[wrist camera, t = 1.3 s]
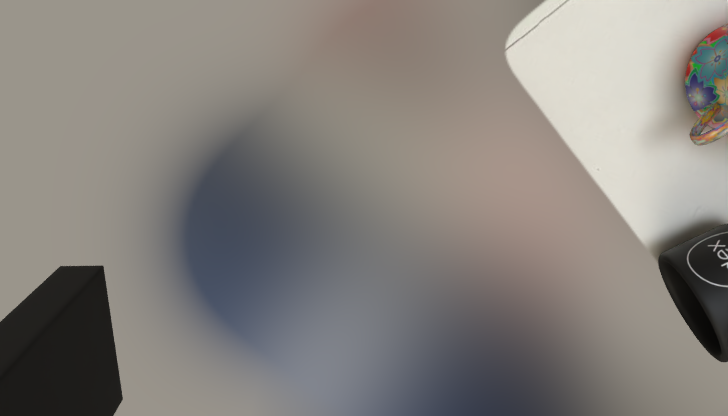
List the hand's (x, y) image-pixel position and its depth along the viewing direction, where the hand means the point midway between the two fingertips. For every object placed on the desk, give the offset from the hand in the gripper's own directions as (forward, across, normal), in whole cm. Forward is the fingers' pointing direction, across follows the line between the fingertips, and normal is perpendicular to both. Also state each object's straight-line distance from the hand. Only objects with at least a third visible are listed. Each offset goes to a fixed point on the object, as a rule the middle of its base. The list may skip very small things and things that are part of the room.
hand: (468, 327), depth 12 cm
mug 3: (+36, +30, -15) cm, 49 cm away
